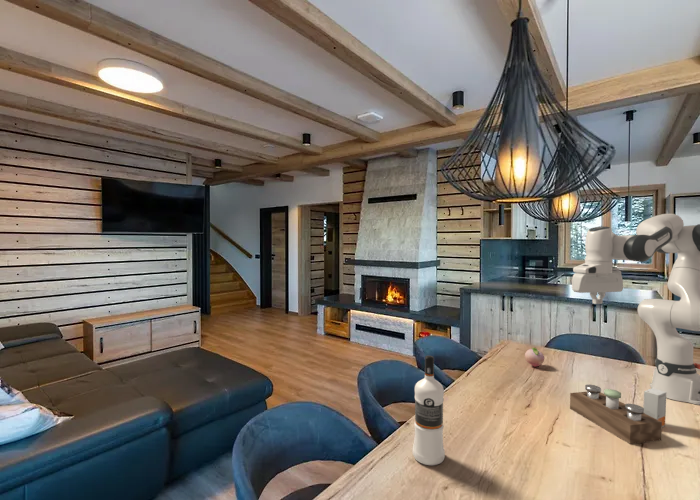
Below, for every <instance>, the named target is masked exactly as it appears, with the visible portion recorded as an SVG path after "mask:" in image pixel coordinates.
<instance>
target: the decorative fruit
mask: <svg viewBox="0 0 700 500" xmlns="http://www.w3.org/2000/svg"><path fill="white" fill-rule="evenodd" d="M524 359H525V361H526V362H527V363H528V364H530V365H531V366H533V367H534V368H535V367H540V366H541V365H542V364H543V363H544V361H545V355H544V354H543V353H542V351H540V350H539V349H538V348H537V347H531V348H529V349H528V350H526V351H525V353H524Z"/></svg>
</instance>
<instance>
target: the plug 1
mask: <svg viewBox="0 0 700 500" xmlns="http://www.w3.org/2000/svg"><path fill="white" fill-rule="evenodd" d="M584 387H585V389H584V390H585V391H586V392H587V397H589V398H591V399H599V393H602V388H601V387H600V386H599V385H595V384H585V386H584Z"/></svg>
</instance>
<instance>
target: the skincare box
mask: <svg viewBox="0 0 700 500" xmlns="http://www.w3.org/2000/svg"><path fill="white" fill-rule="evenodd" d="M643 408H644V413H645V414H647V415H649V416H651V417H653V418H655V419H657V420H659V421H661V422H662V428H663V427H665V426H666V412H667V411H666V410H667V398H666V392H664V391H661V390H658V389H654V388H652V389H651V388H648V389H647V390H644V391H643Z"/></svg>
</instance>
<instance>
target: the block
mask: <svg viewBox="0 0 700 500" xmlns="http://www.w3.org/2000/svg"><path fill="white" fill-rule="evenodd" d="M569 395H570V396H569V403H570V404H569V409H570V410H572V411H573V412H575V413H576V414H579V415H580V416H582V417H583V418H585V419H587V420H588V421H590V422H592V423H594V424H595V425H597V426H598V427H600V428H601V429H604V430H605V431H607V432H609V433H610V434H612V435H614V436H616V437H617V438H619V439H621V440H622V441H624V442H626V443H627V444H629V445H633V444H641V443H642V444H643V443H650V442H657V441H658V442H659V441H662V430H663V427H662V422H661V421H659V420H657V419H655V418H653V417H651V416H649V415H647V414H645V413H643V414H641V421H633V420H631V419H629V418H628V417H627V410H626V409H625V404H626V403H624V402H622V401H621V400H619V409H614V410H612V409H610V408H608V407H606V395H605V394H604V392H601V393H599V399H591V398H589V397H587V391H578V392H570V393H569Z"/></svg>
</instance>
